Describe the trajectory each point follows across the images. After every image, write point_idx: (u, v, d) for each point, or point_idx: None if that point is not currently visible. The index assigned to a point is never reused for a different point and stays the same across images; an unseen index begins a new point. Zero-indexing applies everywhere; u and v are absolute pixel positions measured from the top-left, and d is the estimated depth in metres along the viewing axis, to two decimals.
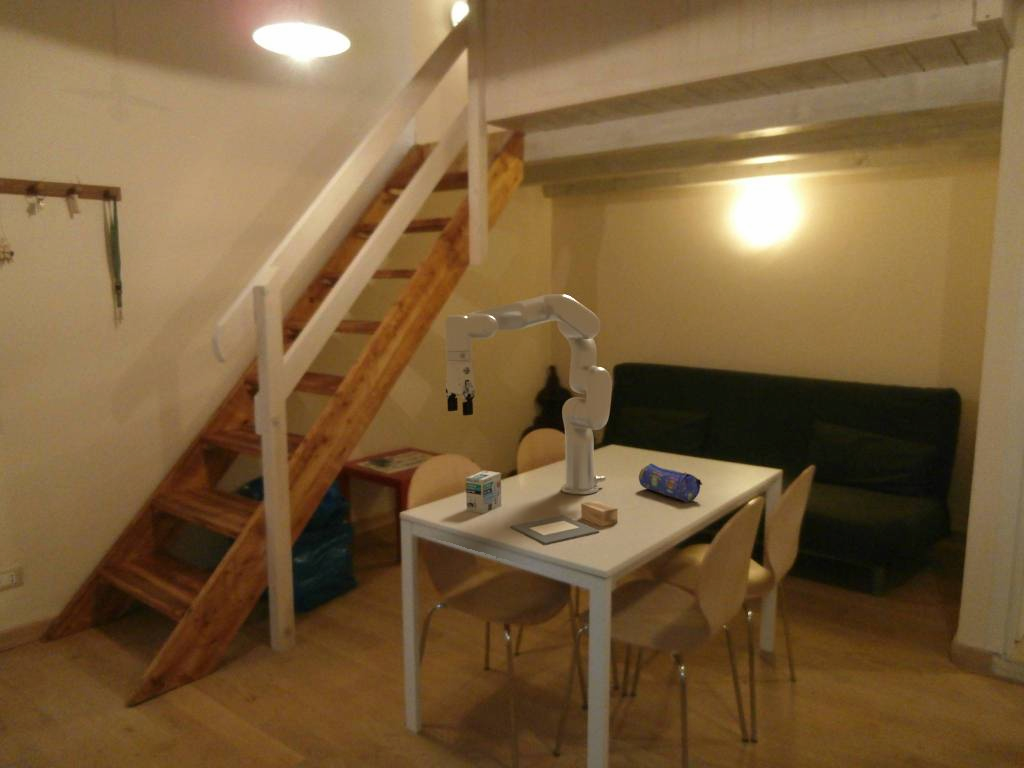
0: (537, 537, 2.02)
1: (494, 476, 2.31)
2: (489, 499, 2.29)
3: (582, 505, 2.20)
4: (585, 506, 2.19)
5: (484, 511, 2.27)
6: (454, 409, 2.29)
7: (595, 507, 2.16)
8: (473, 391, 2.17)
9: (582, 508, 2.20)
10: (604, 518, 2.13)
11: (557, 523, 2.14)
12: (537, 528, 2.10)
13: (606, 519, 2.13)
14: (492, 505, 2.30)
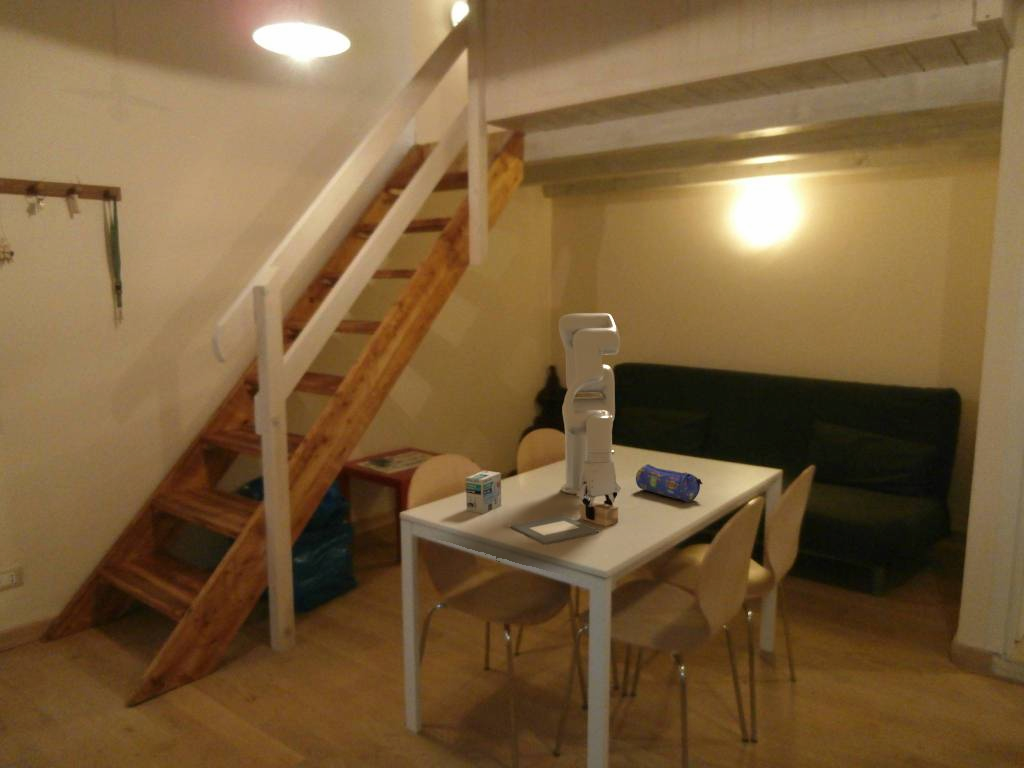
0: (537, 537, 2.02)
1: (494, 476, 2.31)
2: (489, 499, 2.29)
3: (582, 505, 2.19)
4: (585, 506, 2.18)
5: (484, 511, 2.27)
6: None
7: (595, 507, 2.16)
8: None
9: (582, 508, 2.19)
10: (607, 517, 2.13)
11: (557, 523, 2.14)
12: (537, 528, 2.10)
13: (608, 518, 2.13)
14: (492, 505, 2.30)
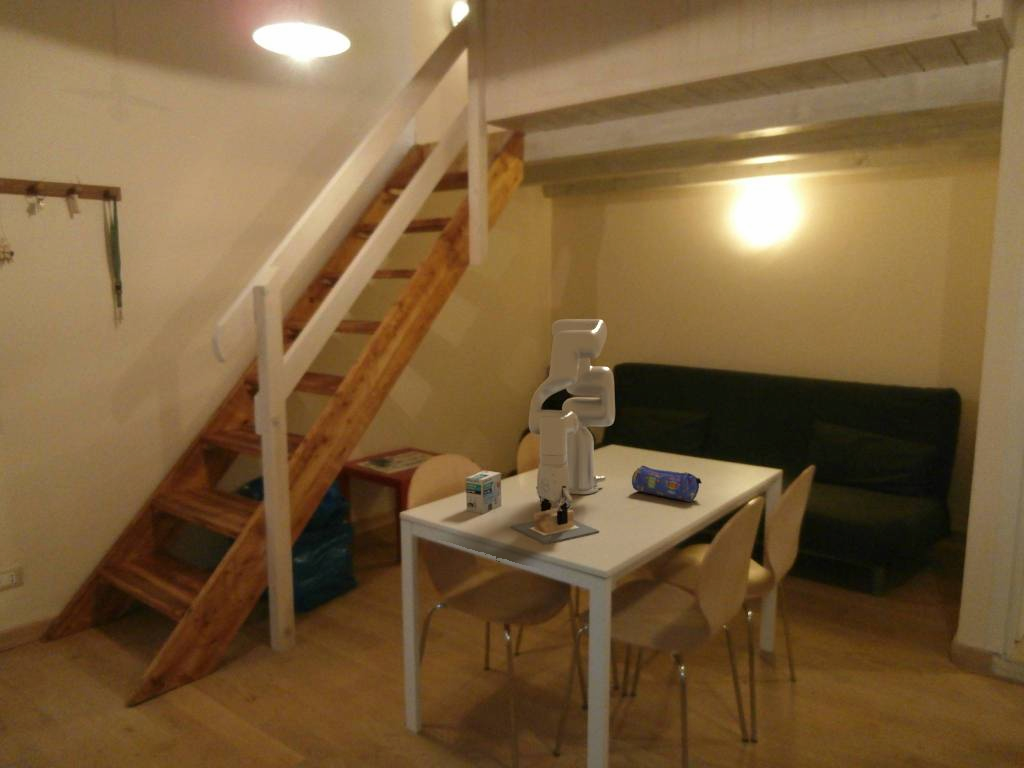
0: (537, 537, 2.02)
1: (494, 476, 2.31)
2: (489, 499, 2.29)
3: (549, 518, 2.05)
4: (552, 517, 2.06)
5: (484, 511, 2.27)
6: None
7: None
8: None
9: (549, 522, 2.05)
10: None
11: None
12: None
13: None
14: (492, 505, 2.30)
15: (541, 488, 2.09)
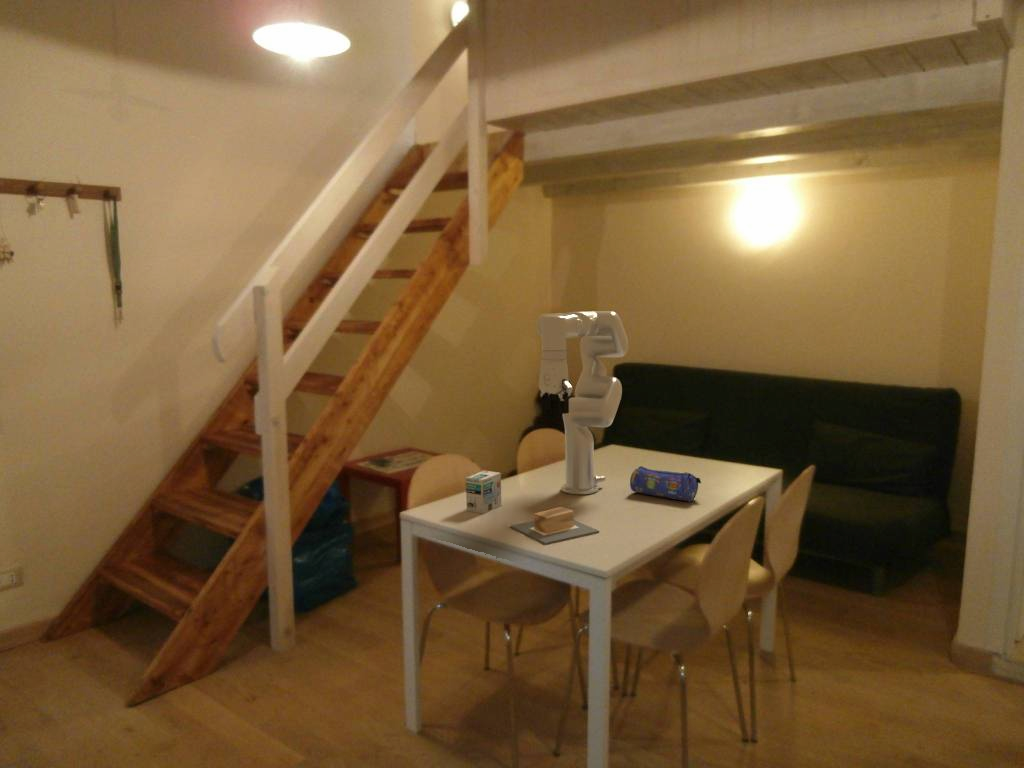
0: (537, 537, 2.02)
1: (494, 476, 2.31)
2: (489, 499, 2.29)
3: (549, 518, 2.05)
4: (552, 517, 2.06)
5: (484, 511, 2.27)
6: None
7: (560, 513, 2.08)
8: None
9: (549, 522, 2.05)
10: None
11: None
12: None
13: None
14: (492, 505, 2.30)
15: (543, 383, 2.28)
